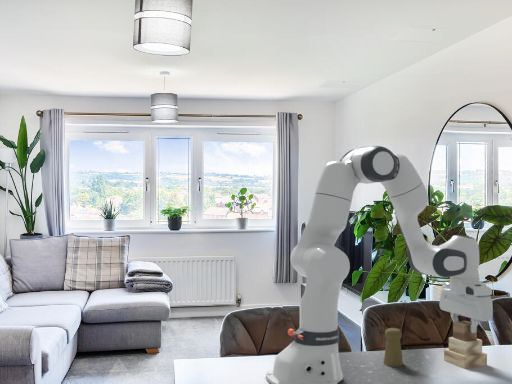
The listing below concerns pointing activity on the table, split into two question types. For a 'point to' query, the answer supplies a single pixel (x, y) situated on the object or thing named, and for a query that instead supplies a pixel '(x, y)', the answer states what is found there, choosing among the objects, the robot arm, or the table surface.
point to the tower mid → (465, 346)
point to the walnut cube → (463, 331)
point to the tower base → (465, 359)
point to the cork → (393, 348)
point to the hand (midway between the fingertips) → (464, 329)
